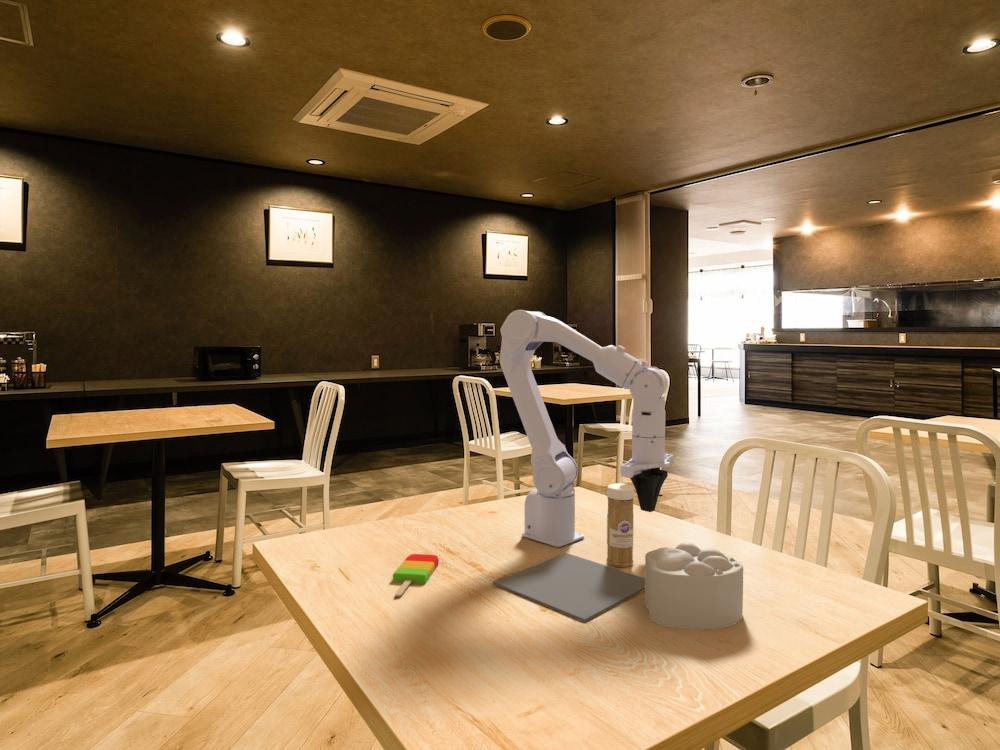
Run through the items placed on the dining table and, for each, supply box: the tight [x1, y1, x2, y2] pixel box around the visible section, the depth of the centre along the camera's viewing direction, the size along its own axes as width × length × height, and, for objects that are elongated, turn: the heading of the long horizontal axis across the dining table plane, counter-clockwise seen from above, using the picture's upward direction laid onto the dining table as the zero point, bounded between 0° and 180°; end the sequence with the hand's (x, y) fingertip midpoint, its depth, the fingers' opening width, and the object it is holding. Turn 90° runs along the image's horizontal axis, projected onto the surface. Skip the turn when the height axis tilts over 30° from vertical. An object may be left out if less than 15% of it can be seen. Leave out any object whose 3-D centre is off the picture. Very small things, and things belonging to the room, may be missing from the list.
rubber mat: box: [492, 552, 645, 623], centre depth 96 cm, size 18×18×1 cm
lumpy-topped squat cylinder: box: [644, 542, 744, 630], centre depth 87 cm, size 10×13×9 cm
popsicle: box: [392, 553, 440, 598], centre depth 99 cm, size 6×15×2 cm, turn 171°
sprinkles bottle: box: [606, 482, 635, 568], centre depth 105 cm, size 5×5×13 cm
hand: (647, 510), depth 111 cm, fingers closed
